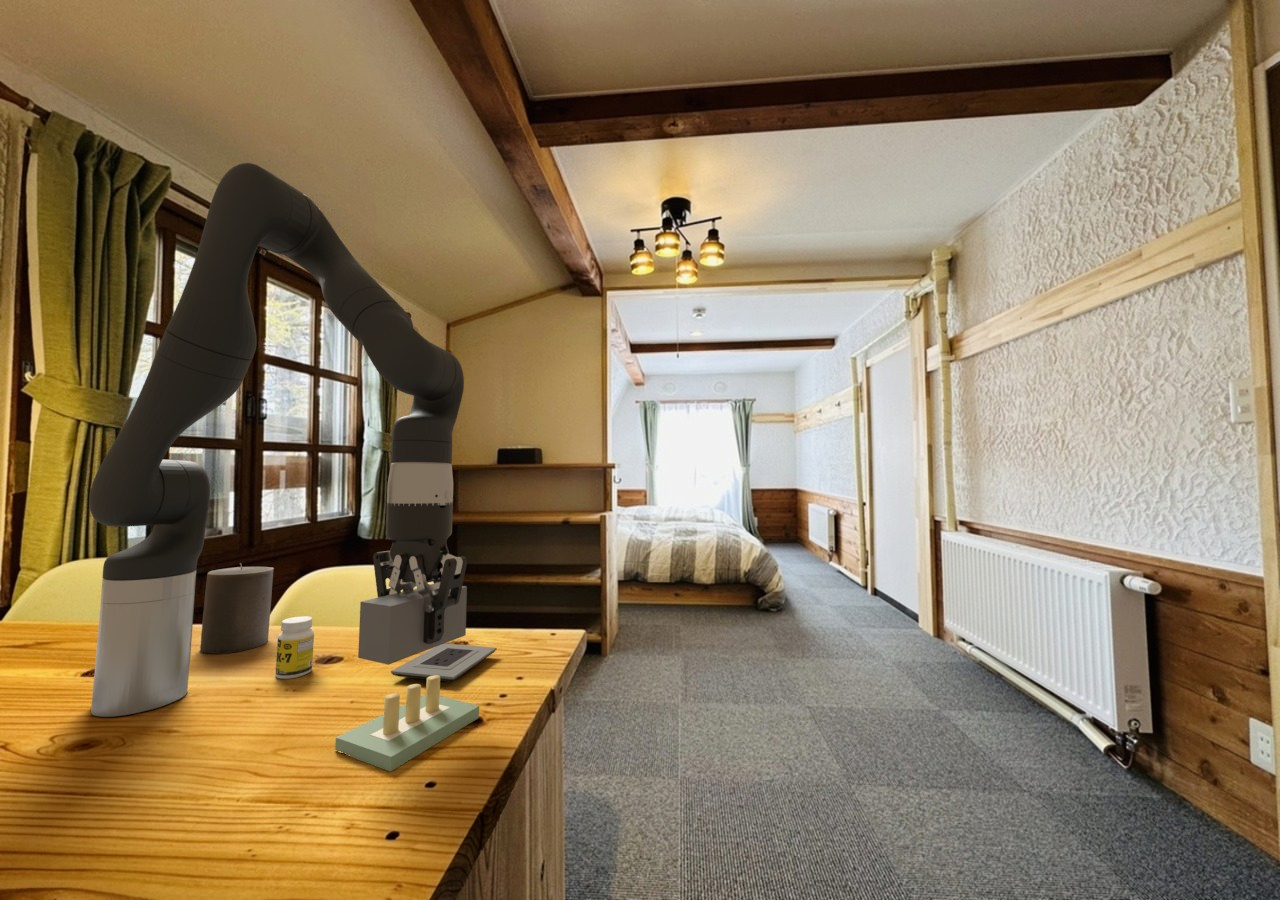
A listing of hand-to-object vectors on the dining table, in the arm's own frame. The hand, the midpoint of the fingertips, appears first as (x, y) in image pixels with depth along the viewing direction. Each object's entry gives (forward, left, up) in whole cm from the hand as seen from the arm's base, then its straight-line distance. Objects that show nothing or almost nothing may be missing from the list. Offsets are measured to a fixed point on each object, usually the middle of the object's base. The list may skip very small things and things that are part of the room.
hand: (416, 638), depth 59 cm
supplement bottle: (-32, +5, -12) cm, 34 cm away
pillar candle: (-56, +8, -12) cm, 57 cm away
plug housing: (0, 0, -1) cm, 1 cm away
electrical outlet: (-12, +17, -12) cm, 24 cm away
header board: (0, 0, -11) cm, 11 cm away
